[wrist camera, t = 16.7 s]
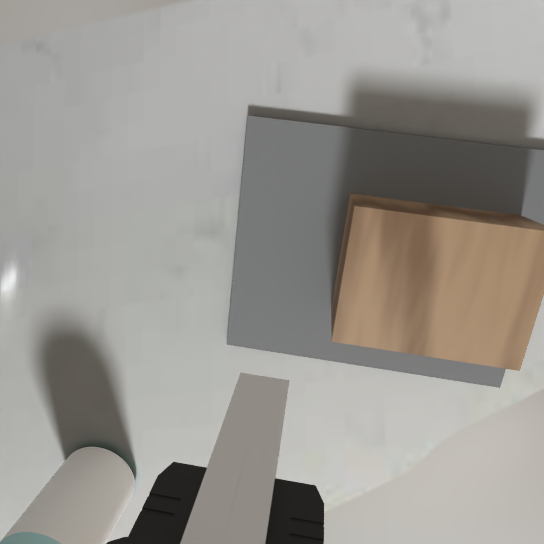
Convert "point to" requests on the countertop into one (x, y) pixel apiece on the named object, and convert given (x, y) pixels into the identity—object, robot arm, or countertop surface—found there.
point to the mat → (331, 221)
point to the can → (77, 501)
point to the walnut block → (438, 281)
